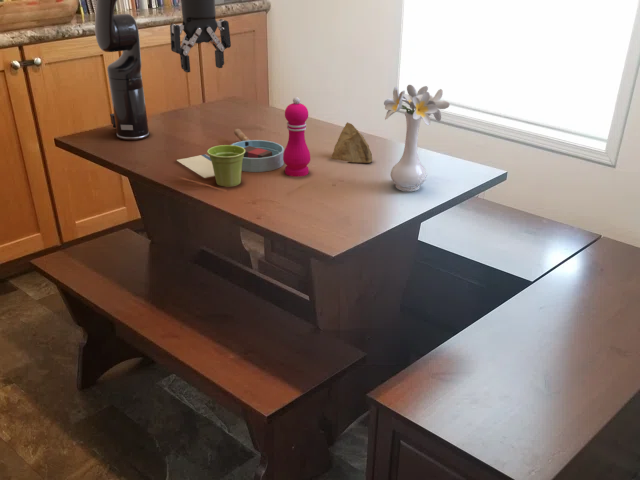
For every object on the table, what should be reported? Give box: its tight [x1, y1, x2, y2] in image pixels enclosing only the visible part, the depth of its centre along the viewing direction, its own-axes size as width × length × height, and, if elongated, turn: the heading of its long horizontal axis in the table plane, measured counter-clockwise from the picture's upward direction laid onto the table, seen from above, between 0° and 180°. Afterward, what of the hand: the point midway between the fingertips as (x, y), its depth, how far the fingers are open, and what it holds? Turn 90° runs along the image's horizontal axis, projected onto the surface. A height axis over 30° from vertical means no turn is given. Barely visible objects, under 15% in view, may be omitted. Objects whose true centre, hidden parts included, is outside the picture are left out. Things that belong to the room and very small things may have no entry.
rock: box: [331, 122, 373, 164], centre depth 191 cm, size 11×9×10 cm
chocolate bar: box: [244, 146, 272, 158], centre depth 188 cm, size 8×4×3 cm, turn 58°
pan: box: [230, 139, 285, 173], centre depth 188 cm, size 15×16×4 cm
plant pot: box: [206, 144, 245, 188], centre depth 174 cm, size 9×9×9 cm
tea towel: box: [176, 153, 215, 179], centre depth 185 cm, size 16×9×1 cm, turn 37°
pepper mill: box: [283, 96, 311, 178], centre depth 178 cm, size 7×7×20 cm
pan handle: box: [233, 128, 251, 146], centre depth 197 cm, size 12×2×2 cm, turn 22°
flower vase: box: [383, 84, 450, 193], centre depth 171 cm, size 13×18×25 cm
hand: (203, 69), depth 163 cm, fingers open, 8 cm apart
